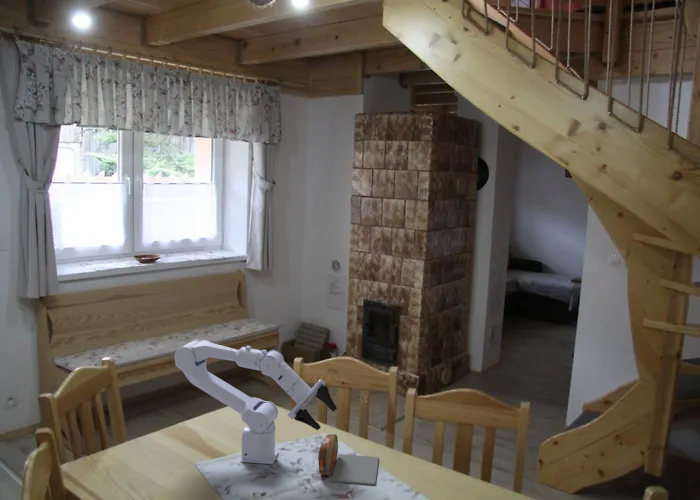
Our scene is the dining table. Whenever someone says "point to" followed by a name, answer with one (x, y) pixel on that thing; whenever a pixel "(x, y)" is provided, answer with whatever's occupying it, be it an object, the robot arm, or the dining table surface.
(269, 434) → the robot arm
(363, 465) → the mat
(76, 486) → the dining table surface
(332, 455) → the tin
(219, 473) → the dining table surface
